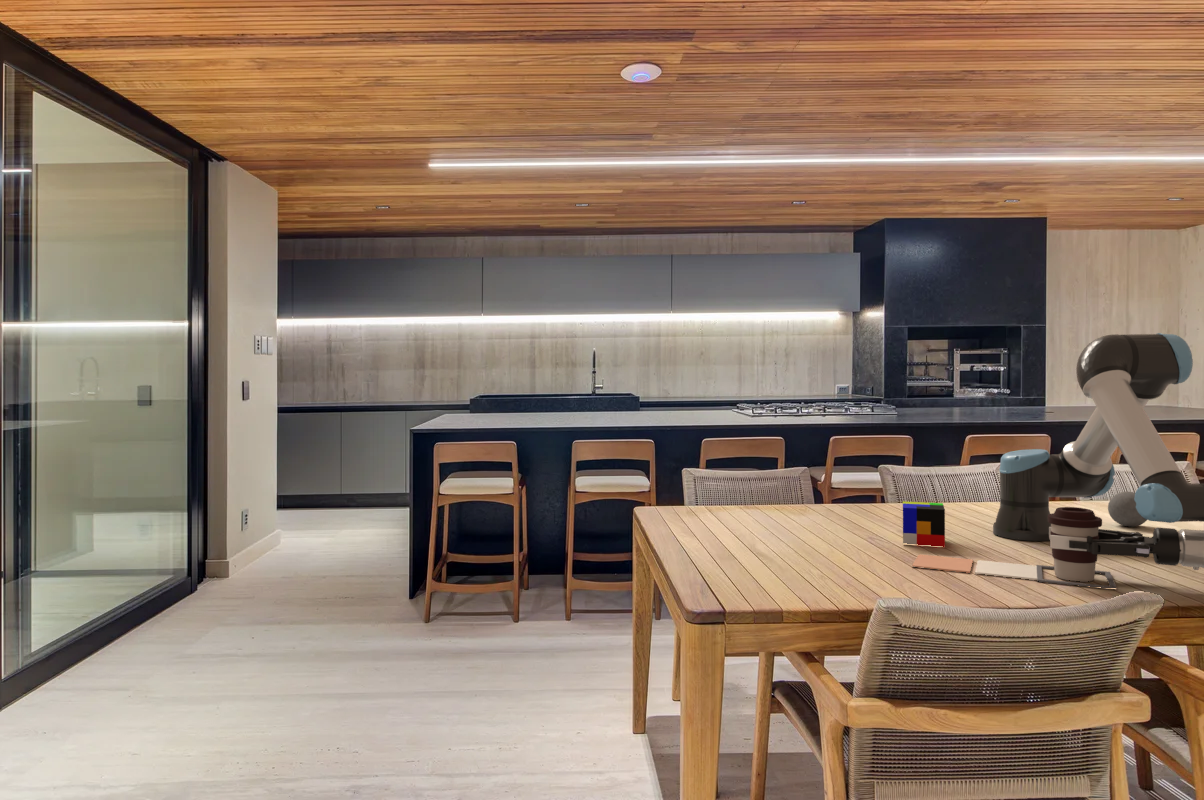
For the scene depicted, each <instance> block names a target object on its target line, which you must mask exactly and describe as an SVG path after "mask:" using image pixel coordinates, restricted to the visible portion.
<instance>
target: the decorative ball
mask: <svg viewBox="0 0 1204 800" xmlns="http://www.w3.org/2000/svg"><path fill="white" fill-rule="evenodd" d="M1135 493H1136V492H1133V491H1122V492H1119V493H1116V494H1115V495H1113V496H1112V497H1111V498H1110V499H1109V501H1108V504H1107V510H1108V514H1109V516H1110V517H1111V519H1112V520H1113V521H1114V522H1115V523H1117V524H1119V525H1120V526H1123V527H1127V526H1129V528H1131V527H1132V528H1135V527H1139V526H1142V525H1144V524H1145V523H1146V522H1147V521H1148V520H1146V519H1145V518H1143V517H1142V516H1141V515H1140V514H1139V513H1138V511H1137V509H1136V502H1135V500H1134V498H1135Z"/></svg>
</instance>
